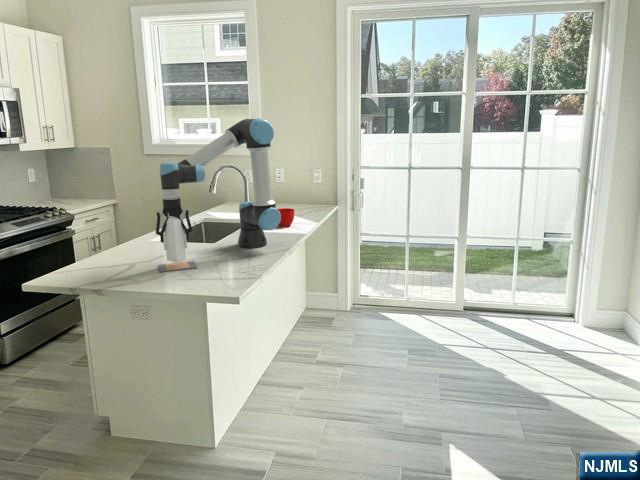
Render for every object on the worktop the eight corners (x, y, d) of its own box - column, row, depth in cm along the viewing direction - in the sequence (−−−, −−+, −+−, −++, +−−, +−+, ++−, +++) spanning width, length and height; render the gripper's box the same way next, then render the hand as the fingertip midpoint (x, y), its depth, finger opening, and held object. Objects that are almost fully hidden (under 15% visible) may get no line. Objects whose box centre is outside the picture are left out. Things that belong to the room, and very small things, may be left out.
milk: (166, 260, 226) (162, 212, 221) (176, 257, 231) (171, 210, 226) (177, 262, 223) (172, 213, 218) (186, 258, 229) (182, 210, 223)
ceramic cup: (297, 222, 321) (296, 207, 318) (293, 228, 304) (292, 212, 302) (277, 222, 322) (276, 207, 320) (272, 228, 306) (271, 212, 303)
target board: (193, 262, 236) (193, 260, 236) (197, 268, 226) (196, 266, 226) (158, 266, 230) (158, 264, 230) (159, 272, 220) (159, 271, 220)
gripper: (146, 201, 214) (151, 252, 219) (197, 197, 221) (200, 247, 226) (145, 198, 221) (150, 248, 226) (194, 195, 228) (198, 244, 233)
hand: (175, 248), depth 226 cm, fingers closed on milk, 8 cm apart
